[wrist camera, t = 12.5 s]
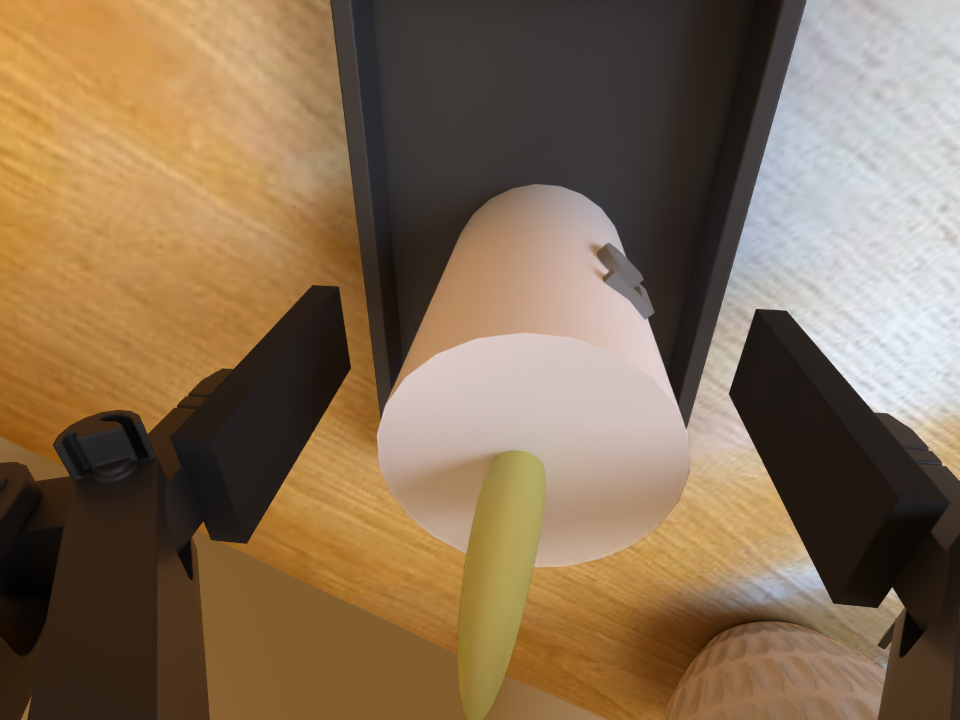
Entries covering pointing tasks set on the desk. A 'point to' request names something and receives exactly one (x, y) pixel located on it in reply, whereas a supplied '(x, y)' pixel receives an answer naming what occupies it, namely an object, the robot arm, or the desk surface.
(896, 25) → the desk surface
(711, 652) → the vase
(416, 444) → the candle
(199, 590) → the robot arm
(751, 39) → the tray
